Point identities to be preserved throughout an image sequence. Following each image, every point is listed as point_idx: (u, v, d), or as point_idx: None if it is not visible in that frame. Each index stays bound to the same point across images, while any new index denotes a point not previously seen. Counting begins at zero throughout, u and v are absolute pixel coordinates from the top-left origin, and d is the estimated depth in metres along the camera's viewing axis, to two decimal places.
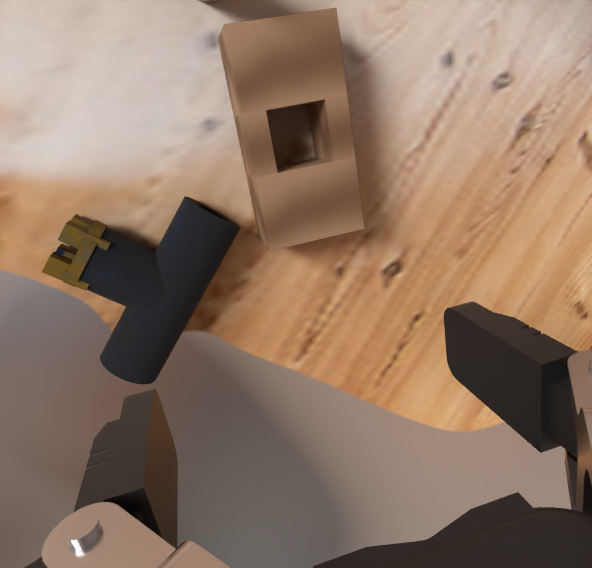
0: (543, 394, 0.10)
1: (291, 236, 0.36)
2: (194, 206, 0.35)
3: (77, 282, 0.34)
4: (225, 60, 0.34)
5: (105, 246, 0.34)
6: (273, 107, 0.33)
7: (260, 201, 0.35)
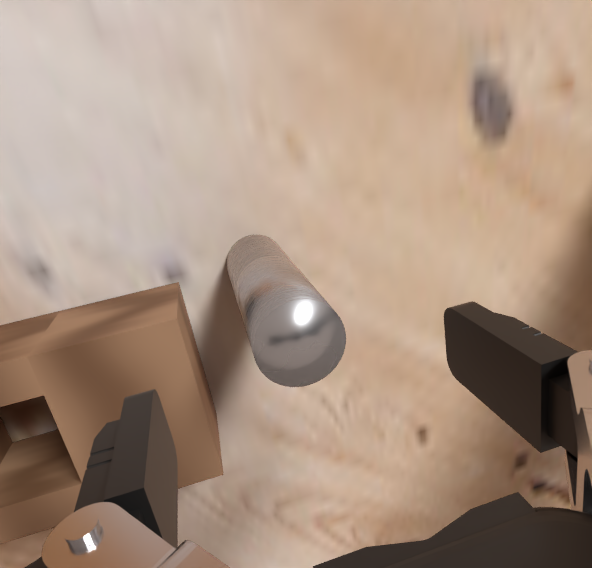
0: (543, 394, 0.10)
1: None
2: None
3: None
4: (139, 303, 0.21)
5: None
6: (51, 407, 0.18)
7: None
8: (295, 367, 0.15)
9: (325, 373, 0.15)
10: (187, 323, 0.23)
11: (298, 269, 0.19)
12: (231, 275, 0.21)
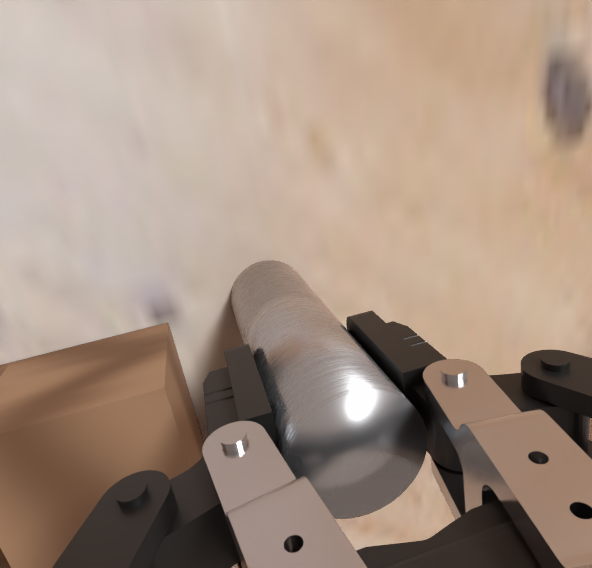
0: (409, 400, 0.10)
1: None
2: None
3: None
4: (115, 356, 0.16)
5: None
6: None
7: None
8: (349, 490, 0.09)
9: (393, 495, 0.10)
10: (179, 378, 0.17)
11: (335, 317, 0.13)
12: (239, 318, 0.16)
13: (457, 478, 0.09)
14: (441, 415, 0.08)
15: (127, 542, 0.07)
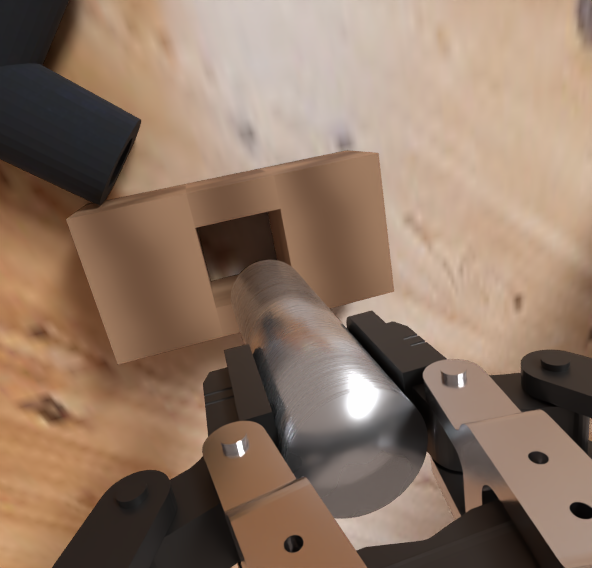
0: None
1: (94, 253, 0.23)
2: (128, 133, 0.22)
3: None
4: (329, 157, 0.27)
5: None
6: (284, 219, 0.24)
7: (149, 202, 0.23)
8: (349, 490, 0.09)
9: (394, 495, 0.10)
10: None
11: (335, 316, 0.13)
12: (239, 318, 0.16)
13: (457, 478, 0.09)
14: (441, 415, 0.08)
15: (127, 542, 0.07)
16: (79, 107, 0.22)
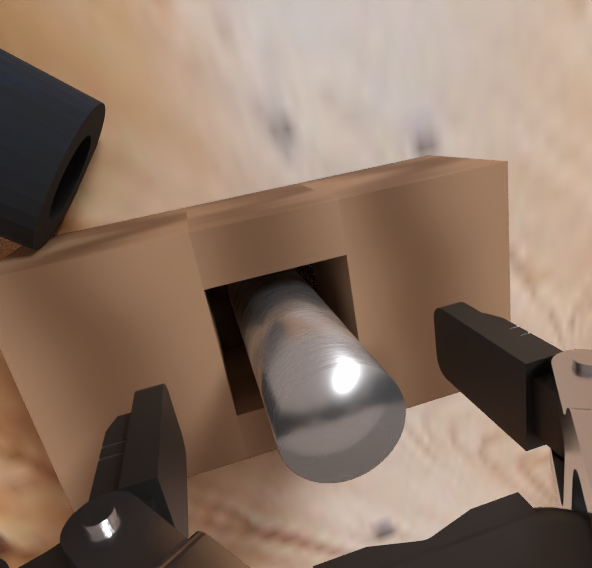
0: (528, 393, 0.10)
1: (26, 339, 0.13)
2: (76, 125, 0.12)
3: None
4: (410, 166, 0.17)
5: None
6: (351, 271, 0.15)
7: (124, 249, 0.13)
8: (334, 457, 0.10)
9: (375, 462, 0.11)
10: None
11: (325, 304, 0.14)
12: (236, 307, 0.17)
13: None
14: None
15: None
16: None
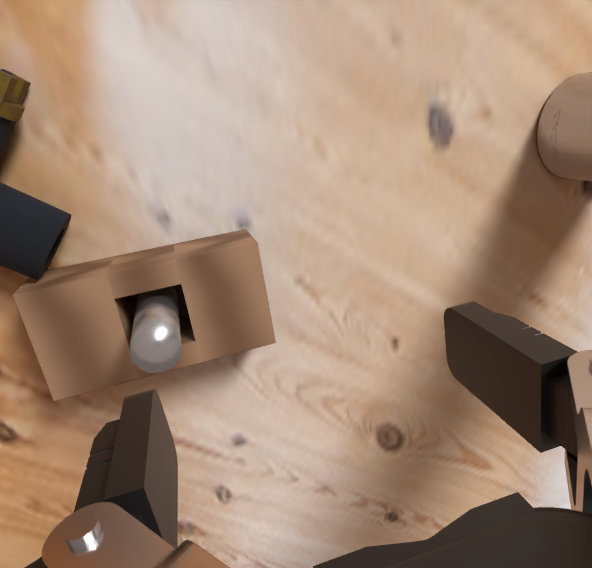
0: (543, 394, 0.10)
1: (34, 319, 0.30)
2: (57, 230, 0.30)
3: None
4: (226, 238, 0.35)
5: None
6: (184, 291, 0.32)
7: (78, 281, 0.30)
8: (153, 362, 0.28)
9: (171, 365, 0.28)
10: None
11: (171, 305, 0.32)
12: None
13: None
14: None
15: None
16: (19, 213, 0.29)
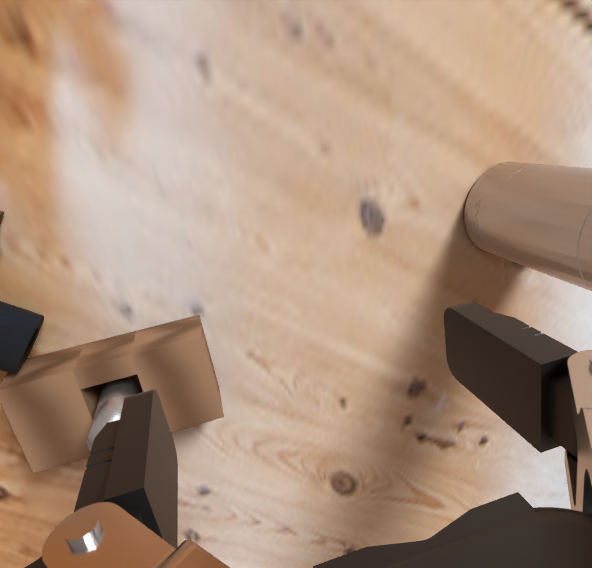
0: (543, 394, 0.10)
1: (14, 409, 0.36)
2: (29, 335, 0.36)
3: None
4: (180, 327, 0.41)
5: None
6: (140, 379, 0.38)
7: (49, 377, 0.36)
8: None
9: None
10: (204, 337, 0.42)
11: (129, 392, 0.38)
12: None
13: None
14: None
15: None
16: None
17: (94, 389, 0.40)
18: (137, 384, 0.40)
